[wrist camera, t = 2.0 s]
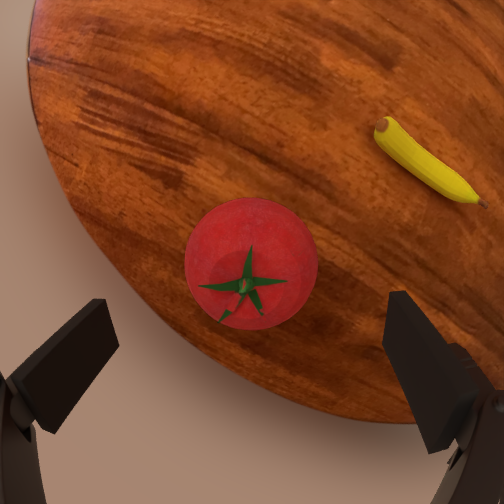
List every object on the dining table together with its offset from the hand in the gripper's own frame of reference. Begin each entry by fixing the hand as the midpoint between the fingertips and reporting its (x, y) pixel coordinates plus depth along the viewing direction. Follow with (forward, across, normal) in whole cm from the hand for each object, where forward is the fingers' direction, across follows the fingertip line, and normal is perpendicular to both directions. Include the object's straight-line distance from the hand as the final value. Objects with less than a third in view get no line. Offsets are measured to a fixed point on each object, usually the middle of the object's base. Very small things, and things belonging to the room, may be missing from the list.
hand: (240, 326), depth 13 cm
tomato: (+11, 0, 0) cm, 11 cm away
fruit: (+11, +13, +6) cm, 18 cm away
